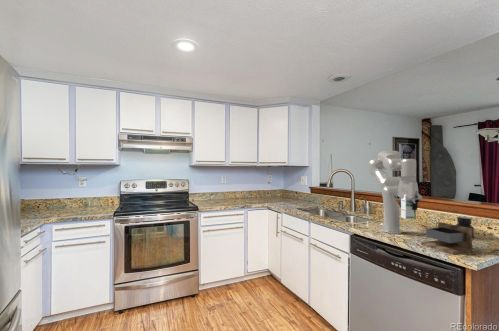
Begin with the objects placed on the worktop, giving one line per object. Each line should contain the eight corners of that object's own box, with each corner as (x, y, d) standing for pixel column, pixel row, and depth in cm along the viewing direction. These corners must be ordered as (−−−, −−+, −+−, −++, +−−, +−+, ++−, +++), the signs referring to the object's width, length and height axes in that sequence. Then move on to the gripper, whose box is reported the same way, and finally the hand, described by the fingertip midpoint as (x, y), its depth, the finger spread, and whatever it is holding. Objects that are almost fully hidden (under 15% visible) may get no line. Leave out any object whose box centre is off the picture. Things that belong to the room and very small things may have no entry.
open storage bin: (426, 236, 133) (426, 228, 133) (441, 234, 136) (441, 227, 136) (450, 243, 121) (450, 234, 121) (466, 241, 125) (466, 232, 125)
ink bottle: (470, 235, 154) (470, 217, 154) (477, 239, 146) (477, 219, 146) (452, 233, 158) (451, 215, 158) (457, 237, 150) (457, 218, 150)
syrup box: (405, 219, 139) (405, 194, 139) (400, 216, 145) (400, 193, 145) (415, 219, 138) (416, 195, 138) (410, 217, 144) (410, 193, 144)
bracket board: (421, 244, 134) (421, 223, 134) (440, 242, 138) (439, 222, 139) (452, 254, 119) (452, 230, 119) (472, 251, 123) (472, 228, 123)
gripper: (391, 178, 148) (390, 206, 149) (417, 180, 132) (417, 211, 132) (400, 178, 151) (399, 205, 151) (427, 180, 134) (427, 211, 134)
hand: (408, 208), depth 141 cm, fingers closed on syrup box, 7 cm apart
